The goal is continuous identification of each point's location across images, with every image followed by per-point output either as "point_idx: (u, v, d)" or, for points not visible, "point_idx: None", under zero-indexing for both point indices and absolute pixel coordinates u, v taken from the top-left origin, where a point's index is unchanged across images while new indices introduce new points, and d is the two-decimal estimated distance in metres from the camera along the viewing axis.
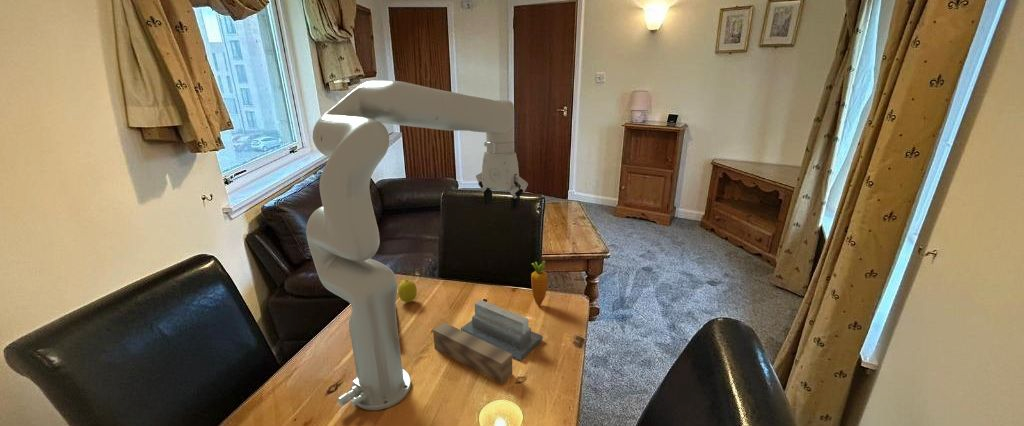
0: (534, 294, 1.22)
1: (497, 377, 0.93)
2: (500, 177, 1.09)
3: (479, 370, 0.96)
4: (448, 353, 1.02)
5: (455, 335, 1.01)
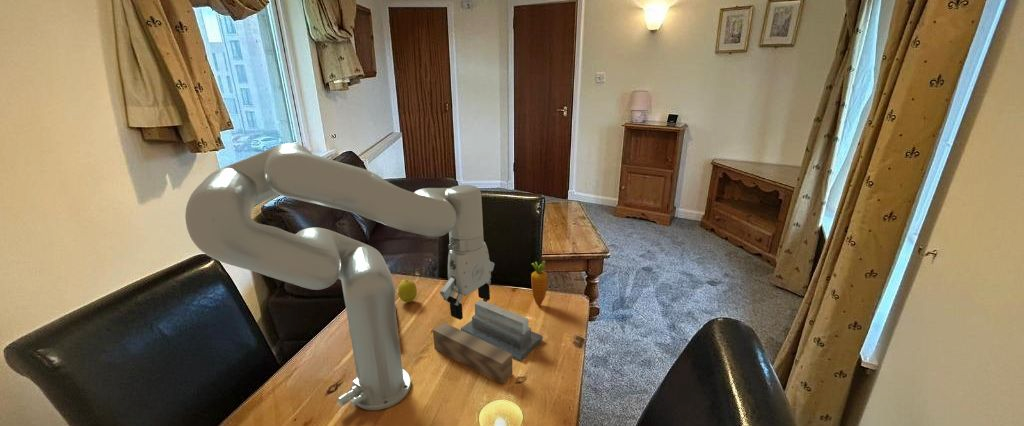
0: (534, 294, 1.22)
1: (497, 377, 0.93)
2: (483, 270, 0.92)
3: (479, 370, 0.96)
4: (448, 353, 1.02)
5: (455, 335, 1.01)
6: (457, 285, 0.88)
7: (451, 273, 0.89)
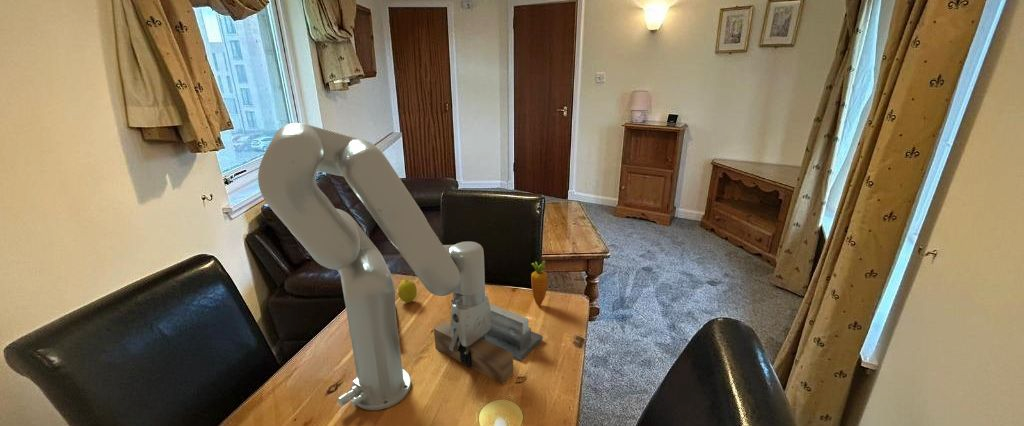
0: (534, 294, 1.22)
1: (498, 376, 0.93)
2: (484, 321, 0.97)
3: (480, 369, 0.96)
4: (449, 352, 1.02)
5: None
6: (459, 337, 0.93)
7: (454, 326, 0.93)
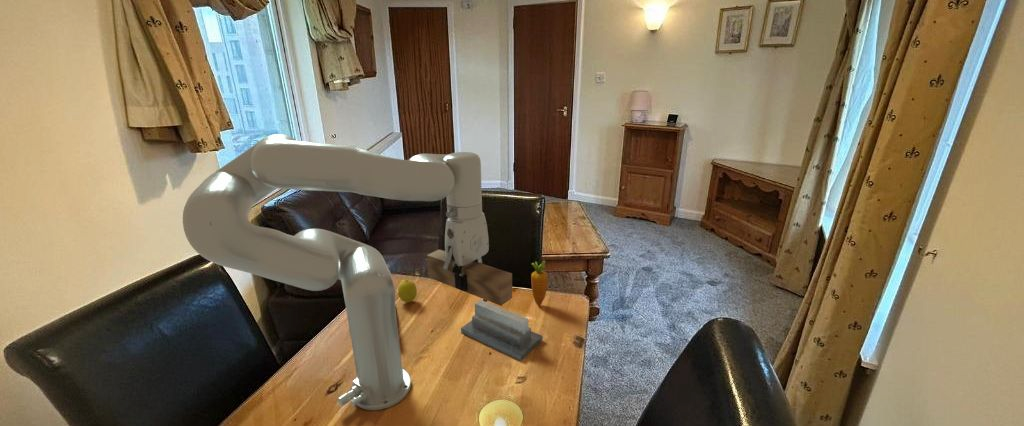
0: (534, 294, 1.22)
1: (496, 297, 0.86)
2: (481, 242, 0.90)
3: (476, 293, 0.90)
4: (443, 279, 0.95)
5: None
6: (454, 255, 0.86)
7: (448, 243, 0.86)
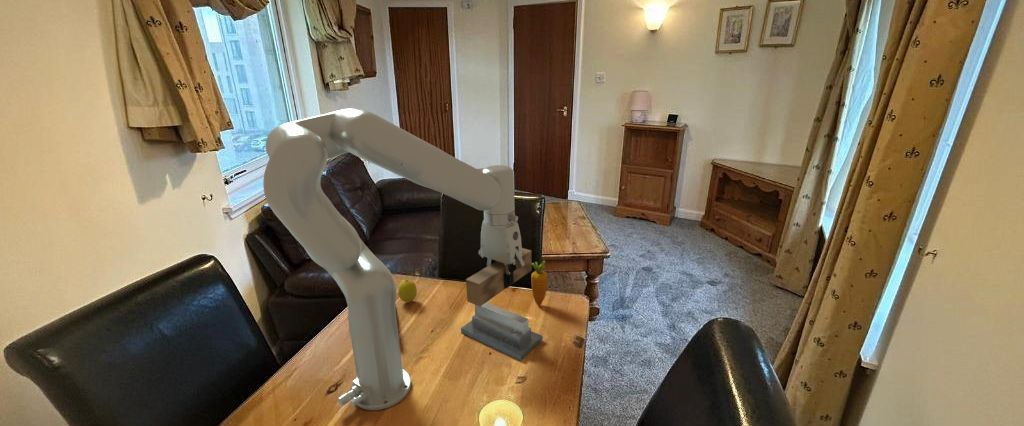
0: (534, 294, 1.22)
1: (528, 267, 1.10)
2: None
3: (517, 277, 1.07)
4: (493, 294, 0.99)
5: (491, 271, 0.99)
6: (519, 251, 0.99)
7: (515, 244, 0.97)
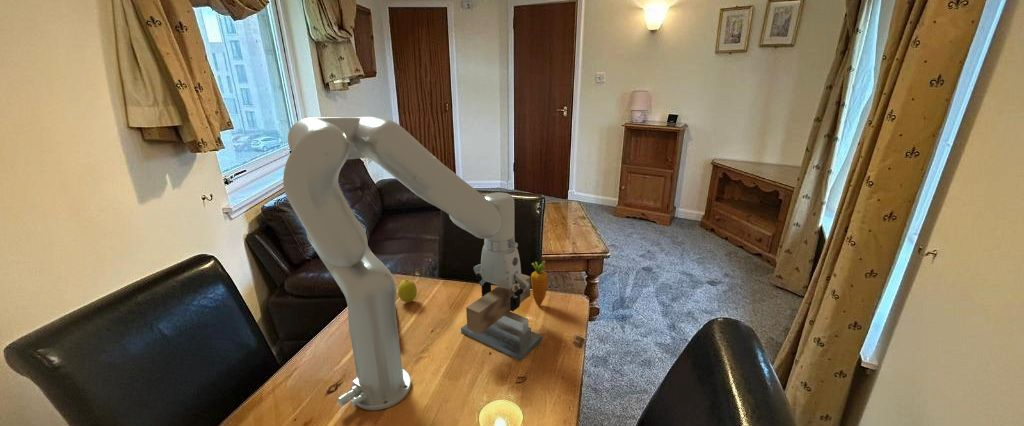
0: (534, 294, 1.22)
1: (527, 292, 1.13)
2: None
3: None
4: (492, 321, 1.01)
5: (490, 299, 1.01)
6: None
7: (514, 270, 0.99)
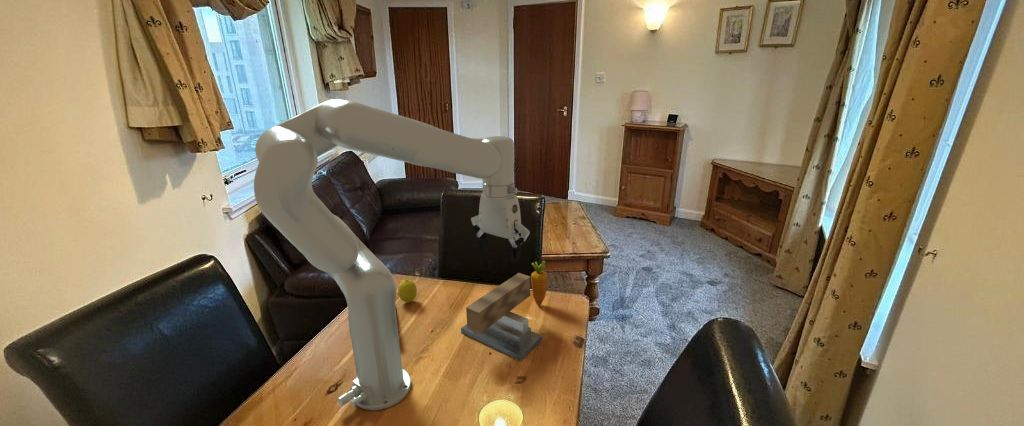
0: (534, 294, 1.22)
1: (527, 292, 1.13)
2: None
3: (516, 303, 1.09)
4: (492, 321, 1.01)
5: (490, 299, 1.01)
6: None
7: (514, 218, 0.95)
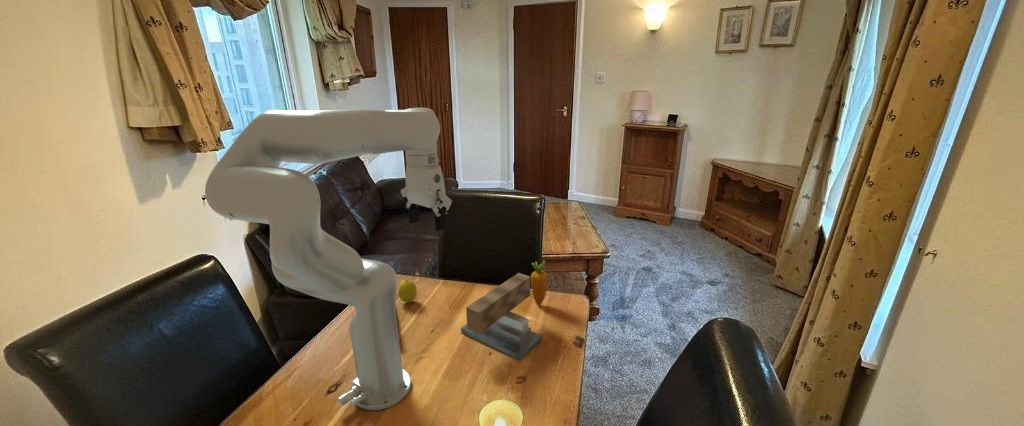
0: (534, 294, 1.22)
1: (527, 292, 1.13)
2: None
3: (516, 303, 1.09)
4: (492, 321, 1.01)
5: (490, 299, 1.01)
6: None
7: (437, 187, 0.98)
